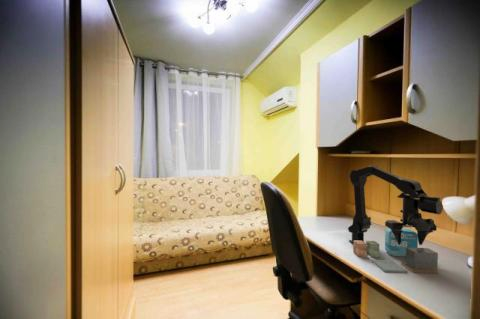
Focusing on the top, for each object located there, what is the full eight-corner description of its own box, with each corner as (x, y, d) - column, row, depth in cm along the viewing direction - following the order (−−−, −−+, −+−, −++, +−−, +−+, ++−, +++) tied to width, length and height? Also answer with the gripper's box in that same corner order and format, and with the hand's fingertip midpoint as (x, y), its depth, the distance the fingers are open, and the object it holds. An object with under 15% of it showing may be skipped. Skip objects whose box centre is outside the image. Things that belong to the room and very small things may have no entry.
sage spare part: (365, 253, 109) (366, 240, 109) (374, 253, 109) (374, 240, 109) (370, 256, 105) (370, 243, 105) (379, 256, 105) (379, 244, 105)
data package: (388, 255, 107) (389, 230, 107) (384, 251, 111) (385, 227, 111) (417, 258, 104) (418, 232, 104) (412, 254, 108) (412, 229, 108)
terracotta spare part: (353, 252, 109) (353, 240, 109) (361, 252, 109) (361, 240, 109) (357, 256, 105) (357, 243, 105) (366, 256, 105) (366, 243, 105)
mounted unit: (401, 264, 97) (401, 245, 97) (424, 265, 97) (425, 246, 97) (413, 272, 90) (413, 252, 90) (438, 273, 90) (439, 253, 90)
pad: (371, 261, 99) (371, 259, 99) (392, 262, 99) (392, 260, 99) (384, 272, 90) (384, 270, 90) (407, 272, 90) (407, 270, 90)
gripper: (402, 213, 91) (401, 251, 91) (448, 214, 91) (447, 252, 91) (384, 207, 102) (384, 241, 102) (426, 208, 102) (425, 242, 102)
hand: (409, 244), depth 99 cm, fingers open, 9 cm apart
